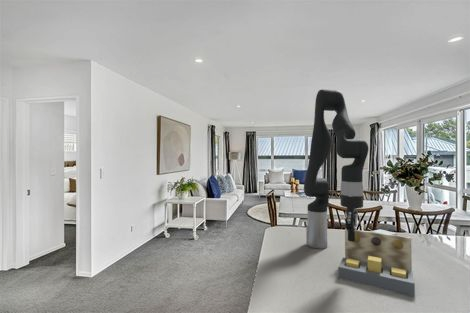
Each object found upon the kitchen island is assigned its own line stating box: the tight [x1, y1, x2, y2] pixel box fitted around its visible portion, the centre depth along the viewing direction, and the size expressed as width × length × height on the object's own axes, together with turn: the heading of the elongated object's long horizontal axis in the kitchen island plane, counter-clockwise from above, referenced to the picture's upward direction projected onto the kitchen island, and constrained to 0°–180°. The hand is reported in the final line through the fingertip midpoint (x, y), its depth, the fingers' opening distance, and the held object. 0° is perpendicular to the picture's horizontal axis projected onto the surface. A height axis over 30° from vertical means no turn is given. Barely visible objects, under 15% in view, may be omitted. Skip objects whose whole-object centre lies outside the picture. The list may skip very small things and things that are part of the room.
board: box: [337, 257, 416, 297], centre depth 86 cm, size 22×10×4 cm, turn 57°
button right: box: [392, 267, 406, 278], centre depth 82 cm, size 4×4×5 cm
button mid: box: [368, 256, 382, 273], centre depth 86 cm, size 4×4×5 cm
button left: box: [346, 259, 359, 268], centre depth 89 cm, size 4×4×5 cm
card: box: [344, 228, 413, 271], centre depth 95 cm, size 22×4×14 cm, turn 57°
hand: (351, 240), depth 90 cm, fingers closed
